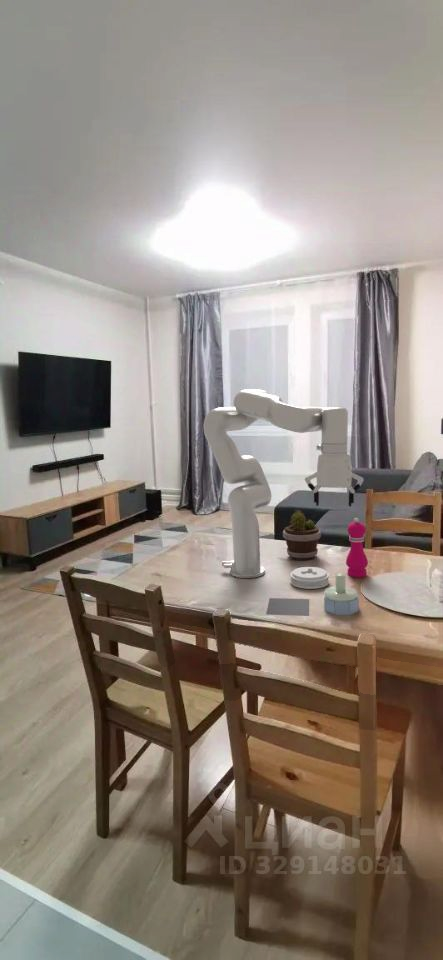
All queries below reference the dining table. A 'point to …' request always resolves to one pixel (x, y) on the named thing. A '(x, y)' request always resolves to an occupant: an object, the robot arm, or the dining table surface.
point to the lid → (309, 577)
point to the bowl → (341, 606)
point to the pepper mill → (356, 550)
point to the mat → (288, 606)
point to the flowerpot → (301, 538)
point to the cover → (340, 590)
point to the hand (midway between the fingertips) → (333, 505)
